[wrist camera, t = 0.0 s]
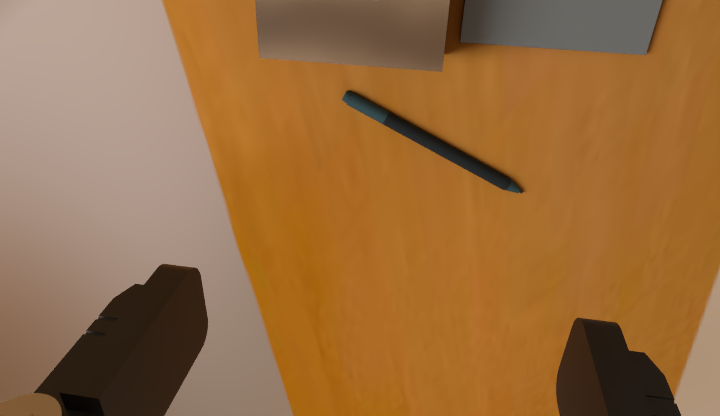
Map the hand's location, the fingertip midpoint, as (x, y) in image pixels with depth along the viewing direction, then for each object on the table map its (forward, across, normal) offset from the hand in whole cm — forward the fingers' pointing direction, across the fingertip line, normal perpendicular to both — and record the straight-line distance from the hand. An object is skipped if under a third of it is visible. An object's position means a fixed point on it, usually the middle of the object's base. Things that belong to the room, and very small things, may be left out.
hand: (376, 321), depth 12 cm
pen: (+30, -1, +9) cm, 31 cm away
